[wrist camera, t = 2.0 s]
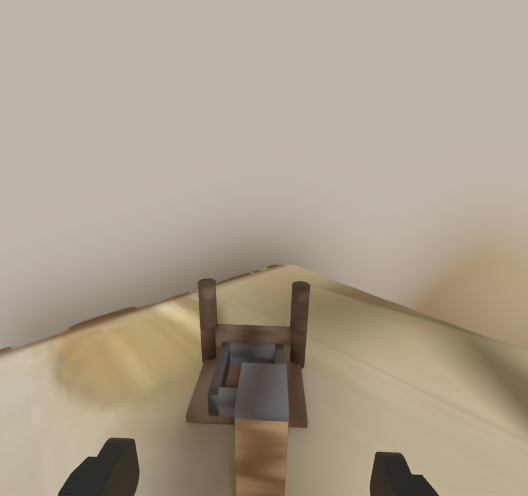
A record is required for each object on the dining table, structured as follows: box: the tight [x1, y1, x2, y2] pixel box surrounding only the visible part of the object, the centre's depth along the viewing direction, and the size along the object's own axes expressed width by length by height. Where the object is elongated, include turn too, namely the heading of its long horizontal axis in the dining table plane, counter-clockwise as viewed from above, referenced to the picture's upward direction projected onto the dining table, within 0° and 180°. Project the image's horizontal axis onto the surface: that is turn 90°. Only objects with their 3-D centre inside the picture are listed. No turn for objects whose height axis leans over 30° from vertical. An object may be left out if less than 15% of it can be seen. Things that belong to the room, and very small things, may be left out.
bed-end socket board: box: [186, 279, 310, 428], centre depth 37 cm, size 15×12×13 cm
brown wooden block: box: [235, 363, 289, 496], centre depth 25 cm, size 4×5×12 cm
